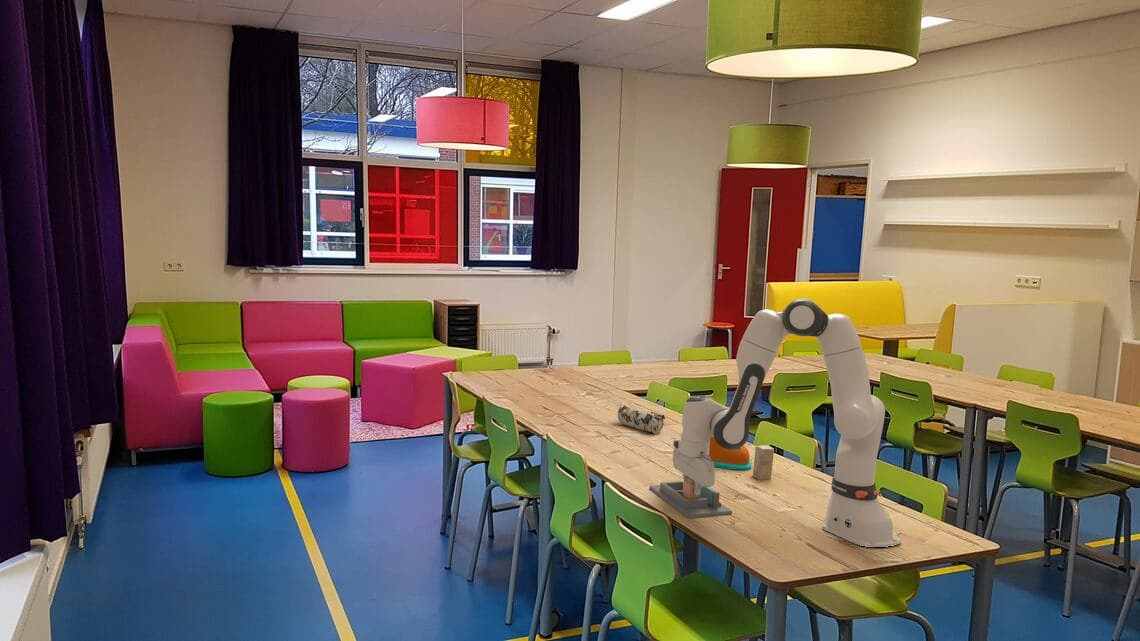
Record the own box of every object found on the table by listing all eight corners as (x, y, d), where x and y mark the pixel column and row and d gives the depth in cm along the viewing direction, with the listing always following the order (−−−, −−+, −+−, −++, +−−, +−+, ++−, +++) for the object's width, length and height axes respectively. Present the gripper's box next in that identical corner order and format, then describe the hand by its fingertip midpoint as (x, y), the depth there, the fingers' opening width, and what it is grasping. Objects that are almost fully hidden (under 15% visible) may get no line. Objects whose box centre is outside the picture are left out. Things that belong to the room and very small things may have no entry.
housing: (731, 514, 236) (733, 495, 235) (687, 518, 230) (689, 499, 230) (690, 485, 260) (691, 468, 259) (649, 488, 255) (650, 471, 254)
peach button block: (700, 499, 239) (701, 481, 239) (688, 500, 238) (690, 482, 237) (693, 494, 243) (695, 476, 242) (682, 495, 242) (683, 477, 241)
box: (758, 480, 269) (761, 448, 268) (752, 475, 273) (754, 445, 272) (771, 479, 270) (774, 448, 269) (765, 475, 275) (768, 444, 273)
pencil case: (665, 433, 324) (667, 410, 323) (652, 436, 318) (653, 413, 317) (627, 421, 340) (628, 399, 339) (613, 424, 334) (615, 402, 333)
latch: (714, 505, 238) (716, 491, 238) (711, 505, 238) (712, 491, 237) (688, 486, 254) (689, 473, 254) (684, 486, 254) (685, 473, 253)
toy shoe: (749, 472, 277) (753, 431, 275) (694, 464, 283) (697, 424, 281) (753, 463, 288) (756, 424, 286) (700, 455, 294) (702, 417, 292)
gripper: (721, 457, 230) (718, 502, 232) (688, 438, 249) (685, 480, 251) (702, 458, 228) (699, 504, 229) (670, 439, 247) (667, 481, 249)
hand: (691, 491), depth 240 cm, fingers closed on peach button block, 4 cm apart
